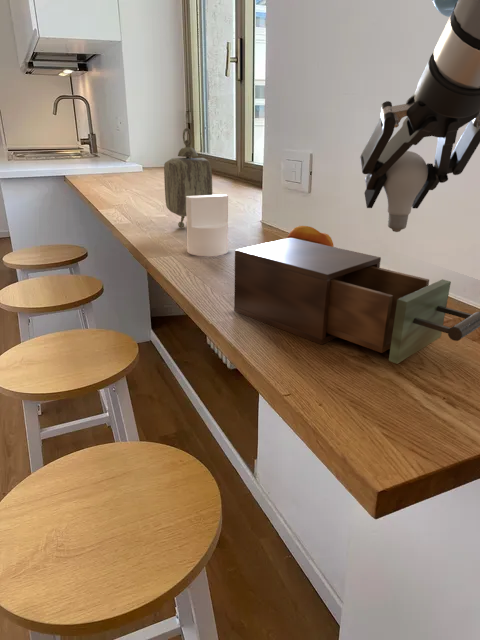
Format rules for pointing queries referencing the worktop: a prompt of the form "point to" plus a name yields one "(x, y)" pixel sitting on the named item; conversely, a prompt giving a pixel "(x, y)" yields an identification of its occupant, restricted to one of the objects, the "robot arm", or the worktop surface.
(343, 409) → the worktop surface
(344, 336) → the drawer
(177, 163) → the cowbell
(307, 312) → the cabinet
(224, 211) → the base with upright slab
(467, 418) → the worktop surface
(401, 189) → the lightbulb
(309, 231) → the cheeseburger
